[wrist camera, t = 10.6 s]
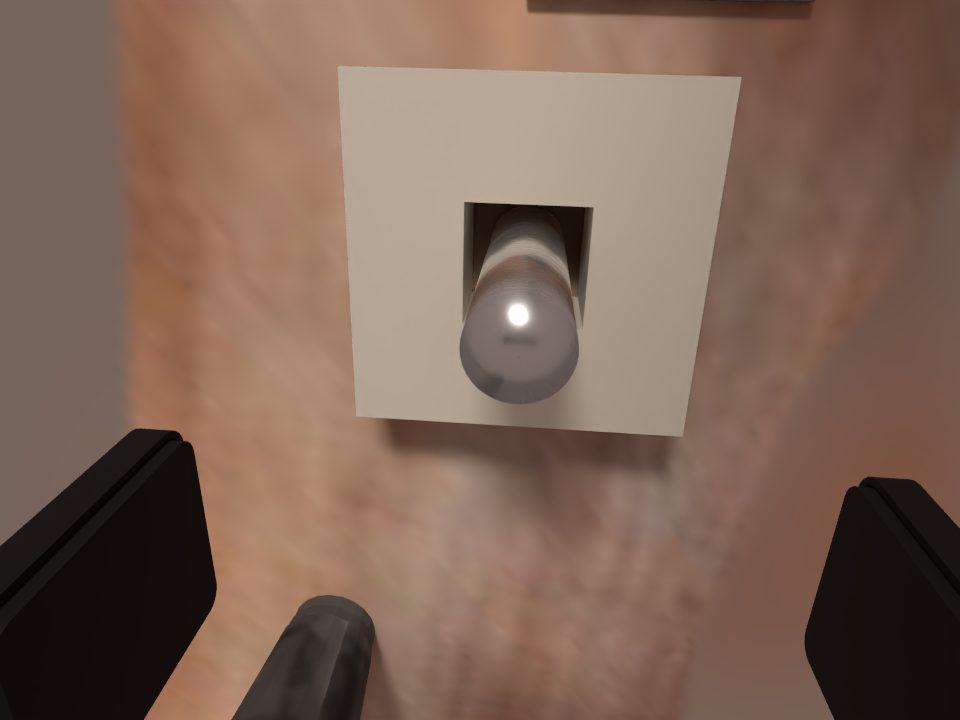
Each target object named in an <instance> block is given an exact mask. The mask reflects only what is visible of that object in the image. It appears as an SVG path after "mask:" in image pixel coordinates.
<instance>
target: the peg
mask: <svg viewBox="0 0 960 720" xmlns="http://www.w3.org/2000/svg"><path fill="white" fill-rule="evenodd" d="M459 350H460V358H461V363H462V366H463V369H464V371H465V372H466V374H467V376H468V378H469V379H470V380H471V382H472V383H473V384H474V385H475V386H476V387H477V388H478V389H479V390H480V391H482V392H483V393H485V394H486V395H488V396H489V397H491V398H493V399H496V400H498V401H501V402H505V403H511V404H529V403H534V402H539V401H541V400H544V399H546V398H548V397H550V396H552V395H554V394H555V393H556V392H558V391H559V390H560V389H561V388H562V387H564V385H565V384H566V383H567V382H568V381H569V379H570V378H571V376H572V375H573V373H574V370H575V368H576V365H577V362H578V357H579V342H578V335H577V328H576V321H575V313H574V306H573V299H572V292H571V285H570V278H569V271H568V263H567V256H566V249H565V242H564V235H563V231H562V228H561V226H560V224H559V222H558V221H557V219H556V218H555V217H554V216H553V215H552V214H551V213H549V212H548V211H546V210H544V209H542V208H540V207H536V206H520V207H517V208H514V209H512V210H510V211H508V212H507V213H505V214H504V215H503V216H502V217H501V218H500V219H499V221H498V222H497V224H496V226H495V228H494V231H493V234H492V237H491V240H490V243H489V246H488V250H487V253H486V256H485V259H484V263H483V266H482V269H481V272H480V275H479V279H478V282H477V285H476V288H475V292H474V295H473V298H472V301H471V304H470V308H469V311H468V314H467V317H466V320H465V324H464V327H463V330H462V333H461V338H460V345H459Z"/></svg>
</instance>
